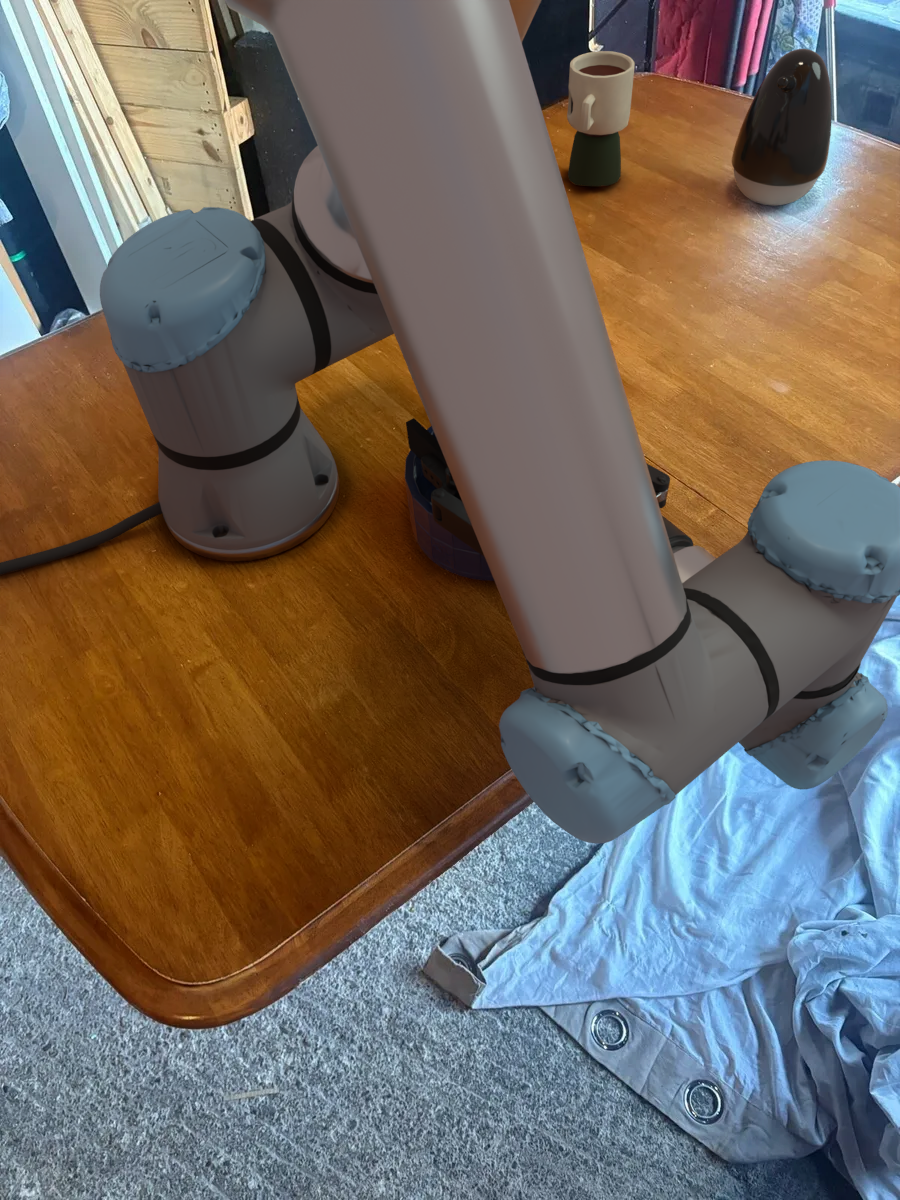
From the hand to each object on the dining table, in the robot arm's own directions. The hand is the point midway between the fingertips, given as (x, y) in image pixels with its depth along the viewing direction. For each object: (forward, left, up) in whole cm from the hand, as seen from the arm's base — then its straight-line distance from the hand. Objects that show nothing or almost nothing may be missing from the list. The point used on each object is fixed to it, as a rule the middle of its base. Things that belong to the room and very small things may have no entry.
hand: (456, 410), depth 70 cm
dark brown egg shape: (+56, +16, -8) cm, 59 cm away
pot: (0, -5, -8) cm, 10 cm away
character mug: (+43, +32, -8) cm, 54 cm away
